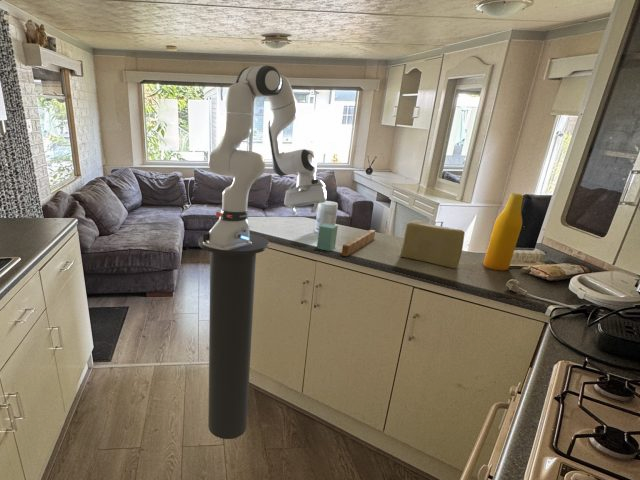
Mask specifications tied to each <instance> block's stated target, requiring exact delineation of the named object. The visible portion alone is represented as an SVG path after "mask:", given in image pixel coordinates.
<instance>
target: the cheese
mask: <svg viewBox="0 0 640 480" xmlns="http://www.w3.org/2000/svg"><path fill="white" fill-rule="evenodd" d="M465 234H466V233H465V231H464V230H462V229H459V228H453V227H446V226H441V225H436V224H431V223H429V222H425V221H422V220H419V219H417V220H412V221H409V222H407V223H406V225H405V231H404V235H403V240H402V244H401V245H402V247H401V252H400V257H401V258H405V259H410V260H411V259H412V260H415V261H420V262H425V263H428V264H433V265H437V266H442V267H446V268H449V269H450V268H451V269H458V267H459V264H460V261H461V257H462V252H463V248H464V240H465Z"/></svg>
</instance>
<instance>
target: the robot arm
mask: <svg viewBox="0 0 640 480" xmlns="http://www.w3.org/2000/svg"><path fill="white" fill-rule="evenodd" d="M235 80H236V81H235V83H232V84H231V85H230V86H229V88H228V90H227V93H226V98H225V99H226V101H225V109H224V110H225V111H224V123H223V133H222V137H221V140H220V142H219V144H218V145H217V146H216V147H215V148H214V149H213V150H211V153H210V154H209V156H208V160H207V161H208V163H207V164H208V167H209V169H210V172H212V173H214V174H217V175H218V176H219V175H220V176H223V177H231V178H233V181H232V183H231V185H229V186H226V187H225V189H224V190H223V191H222V195H221V196H222V199H221V209H220V211H216V212H215V216H216V217H218V218H219V219H218V220H217V221H216V222H215V224H214V225H213V226H212V228H211V229H210V230H208V231H206V232H204V233H202V236H203V241H204V242H203V245H205V246H207V247H210V248H214V249H219V250H232V249H236V248H240V247H244V246H248V245H251V244H252V242H251V241H250V233H251V232H250V224H249V222H248V218H249V209H248V203H249V193H250V190H251V188H252V185H253V184H254V183H255V182H256V180H258V179H259V178H260V177H262V175H263V174H264V171H265V169H266V162H265V159H264V157H263V155H262V154H261V153H258V152H254V151H252V150H242V149H240V146H241V144H242V142H244V141H245V140H247V139H248V138H250V137H251V135H252V127H253V112H254V111H253V107H254V101H255V99H256V98H261V97H265V98H266V99H267V101H268V105H269V109H270V112H271V118H270V119H269V121H268V125H267V131H268V138H269V145H270V151H271V162H272V165H271V166H272V169H273V172H274V173H275V174H276V175H277V176H279V177H284V176H288V175H291V174H297V176H296V185H295V186H294V187H288V188H287V190H285V195H284V202H283V204H284V206H285V207H286V208H291V210H292V215H293V216H297V215H298V211H297V209H296V207H303V206H308V205H309V206H310V205H313V207H311V208H310V212H311V213H312V214H315V213H317V209H318V203H324V202H325V201H327V190H326V184H325V183H324V182H323V181H322V180H321V179H319V178H316V174H317V165H318V164H317V163H318V161H317V155H316V153H315V152H314V151H313V150H310V149H306V148H305V149H304V148H303V149H302V148H301V149H296V150H293V151H288V152H284V151H283V149H282V140H281V132H282V131H284V130H285V129H287V128H288V127H290V125H292V123H293V122H294V121H295V120H296V119H297V117H298V113H299V109H298V108H299V107H298V103H297V99H296V96H295V93H294V89H293V88H292V85H291V83H290V81H289V78H287V76H285V75H283V74H281V73H280V71H279V70H278V69H277V68H276V67H274V66H272V65H267V64H266V65H254V66H253V65H252V66H249V67H245V68H243V69H241V71H239V73H238V75H237V77H236V79H235ZM206 240H207V241H206Z"/></svg>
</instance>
